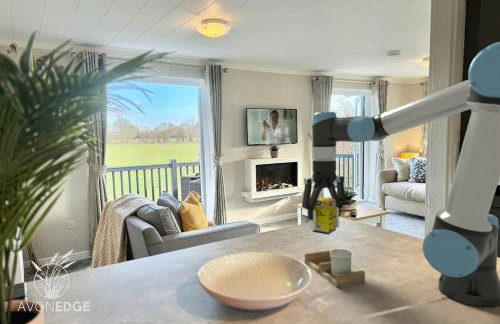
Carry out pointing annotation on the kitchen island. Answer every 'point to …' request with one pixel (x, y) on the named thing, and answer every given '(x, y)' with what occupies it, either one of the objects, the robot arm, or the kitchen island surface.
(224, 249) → the kitchen island surface
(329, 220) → the supplement box
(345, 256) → the pale green cylinder
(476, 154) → the robot arm
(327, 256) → the caddy
